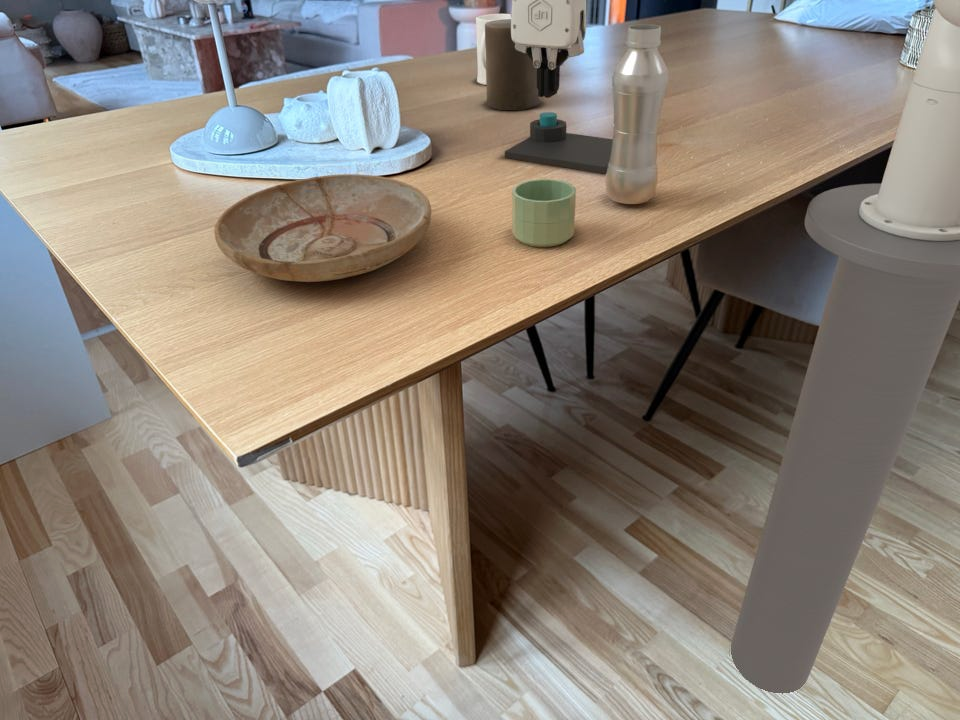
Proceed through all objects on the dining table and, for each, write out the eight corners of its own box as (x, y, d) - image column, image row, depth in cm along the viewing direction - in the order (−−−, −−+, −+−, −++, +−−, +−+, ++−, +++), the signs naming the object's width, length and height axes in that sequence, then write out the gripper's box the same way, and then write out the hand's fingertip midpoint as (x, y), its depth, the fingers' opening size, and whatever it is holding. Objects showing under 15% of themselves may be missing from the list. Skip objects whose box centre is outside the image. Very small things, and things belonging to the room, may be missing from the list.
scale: (637, 149, 105) (639, 129, 103) (604, 174, 96) (606, 152, 95) (541, 135, 112) (541, 116, 110) (503, 157, 104) (503, 137, 102)
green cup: (584, 230, 81) (586, 184, 78) (556, 253, 76) (558, 206, 73) (531, 219, 84) (531, 175, 81) (501, 241, 79) (500, 195, 76)
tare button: (559, 124, 108) (559, 113, 107) (551, 129, 106) (552, 117, 105) (544, 122, 109) (544, 111, 108) (536, 127, 107) (536, 115, 106)
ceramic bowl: (177, 275, 75) (164, 232, 73) (322, 200, 92) (316, 163, 89) (343, 326, 65) (335, 278, 62) (473, 232, 82) (471, 191, 79)
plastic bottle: (603, 210, 86) (615, 33, 75) (603, 190, 91) (614, 22, 80) (657, 211, 85) (677, 32, 74) (653, 190, 90) (672, 21, 79)
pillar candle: (516, 114, 123) (515, 20, 114) (475, 105, 129) (472, 16, 120) (550, 102, 129) (552, 12, 120) (510, 94, 134) (509, 8, 126)
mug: (499, 91, 137) (497, 24, 130) (461, 87, 141) (458, 22, 134) (525, 77, 146) (525, 14, 139) (489, 74, 149) (487, 12, 142)
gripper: (489, -44, 95) (492, 95, 106) (589, -42, 88) (582, 107, 99) (516, -49, 100) (516, 84, 111) (613, -48, 94) (604, 94, 104)
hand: (547, 95), depth 105 cm, fingers closed
